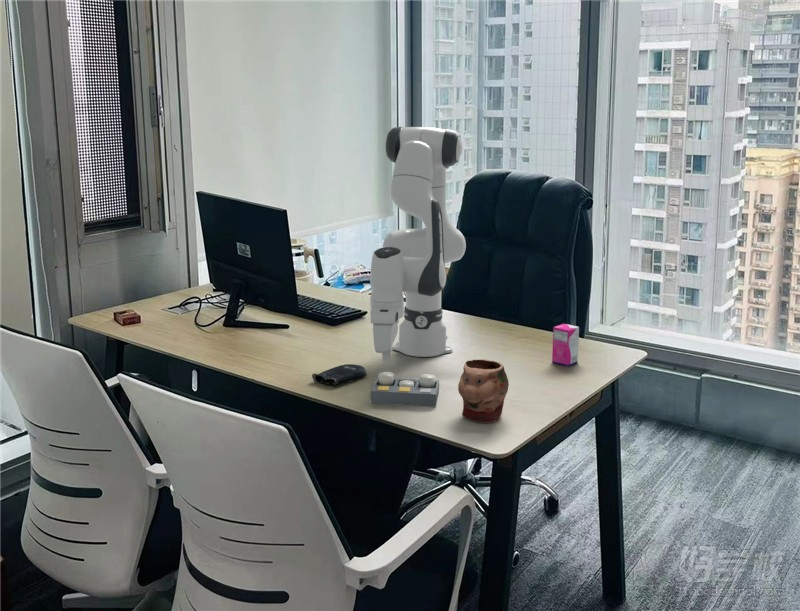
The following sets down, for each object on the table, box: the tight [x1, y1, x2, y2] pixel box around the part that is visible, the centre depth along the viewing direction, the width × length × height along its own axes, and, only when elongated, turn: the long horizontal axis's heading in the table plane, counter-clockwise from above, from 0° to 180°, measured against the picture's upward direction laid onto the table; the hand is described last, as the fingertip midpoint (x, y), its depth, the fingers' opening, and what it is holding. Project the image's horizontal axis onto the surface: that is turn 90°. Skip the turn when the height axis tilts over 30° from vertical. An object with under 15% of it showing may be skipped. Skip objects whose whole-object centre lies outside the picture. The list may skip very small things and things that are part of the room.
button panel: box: [370, 376, 440, 408], centre depth 227 cm, size 11×17×4 cm, turn 83°
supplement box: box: [551, 323, 580, 367], centre depth 257 cm, size 6×6×12 cm
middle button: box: [399, 380, 414, 387], centre depth 228 cm, size 4×4×2 cm
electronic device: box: [311, 363, 368, 388], centre depth 241 cm, size 10×6×15 cm
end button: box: [378, 371, 394, 386], centre depth 228 cm, size 4×4×2 cm
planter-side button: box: [419, 373, 436, 388], centre depth 227 cm, size 4×4×2 cm
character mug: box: [457, 358, 510, 424], centre depth 215 cm, size 20×12×14 cm, turn 159°
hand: (386, 360), depth 227 cm, fingers closed
